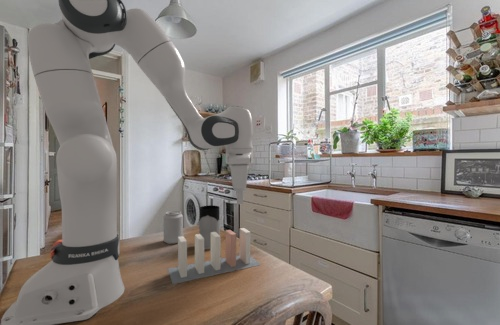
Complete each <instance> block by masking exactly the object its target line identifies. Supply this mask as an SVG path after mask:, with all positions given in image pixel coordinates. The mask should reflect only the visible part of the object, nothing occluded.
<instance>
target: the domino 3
mask: <svg viewBox="0 0 500 325" xmlns="http://www.w3.org/2000/svg"><path fill="white" fill-rule="evenodd" d="M221 238H222V237H221V234H220V235H219V234H217V233H216V232H211V249H210V260H211V265H212V267H213V268H214V269H215V270H220V269H221V258H222V257H221V255H222V254H221V252H222V250H221V242H222V240H221Z"/></svg>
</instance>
